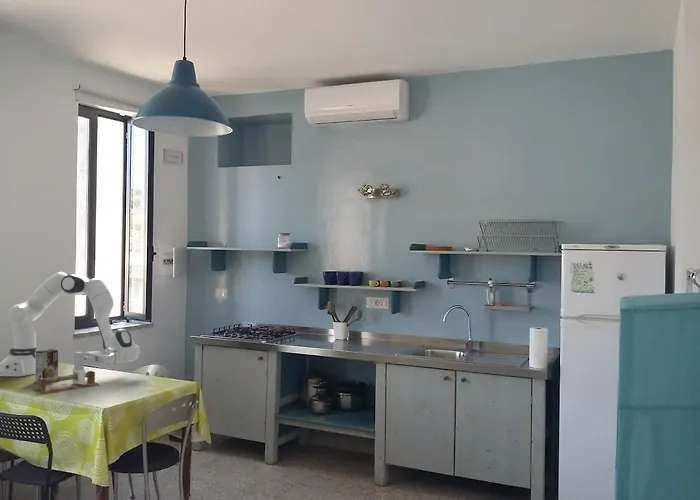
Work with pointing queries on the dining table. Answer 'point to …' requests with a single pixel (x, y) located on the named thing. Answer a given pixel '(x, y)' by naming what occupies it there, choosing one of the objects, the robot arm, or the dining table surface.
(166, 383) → the dining table surface
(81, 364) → the collar
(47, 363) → the coffee box
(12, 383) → the dining table surface
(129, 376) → the dining table surface
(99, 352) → the robot arm
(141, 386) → the dining table surface
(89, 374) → the pipe stand
